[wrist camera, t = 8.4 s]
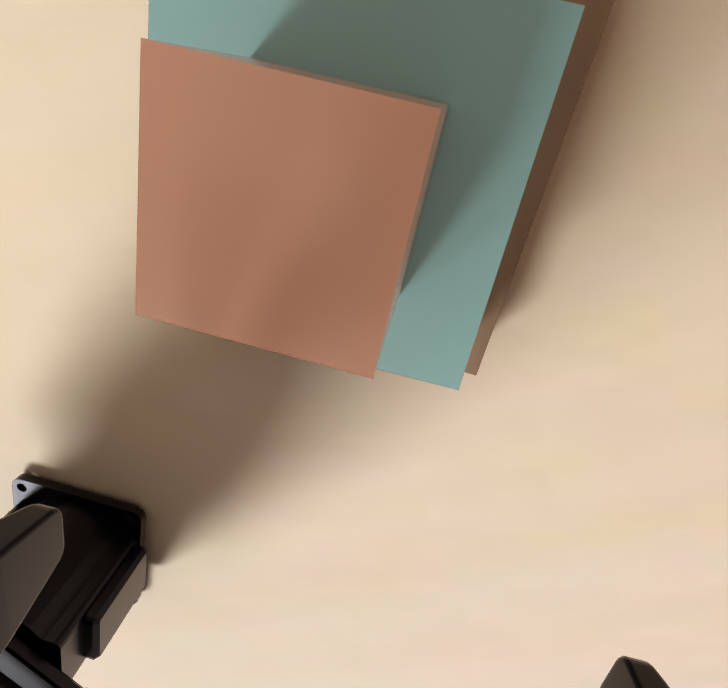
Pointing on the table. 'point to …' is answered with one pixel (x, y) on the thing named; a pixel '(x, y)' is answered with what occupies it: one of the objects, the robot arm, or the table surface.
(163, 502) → the table surface
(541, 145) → the tower base
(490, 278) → the tower top
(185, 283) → the terracotta cube
